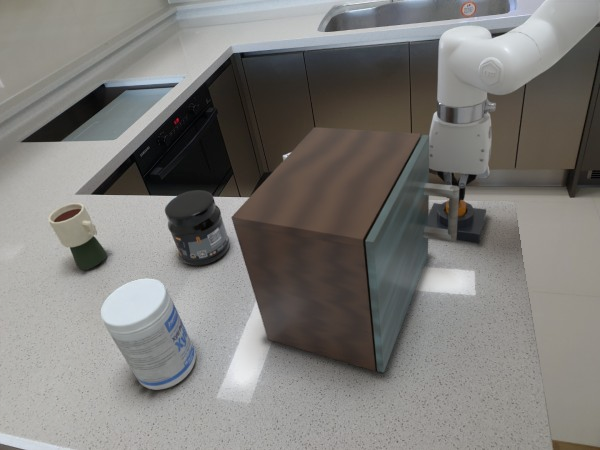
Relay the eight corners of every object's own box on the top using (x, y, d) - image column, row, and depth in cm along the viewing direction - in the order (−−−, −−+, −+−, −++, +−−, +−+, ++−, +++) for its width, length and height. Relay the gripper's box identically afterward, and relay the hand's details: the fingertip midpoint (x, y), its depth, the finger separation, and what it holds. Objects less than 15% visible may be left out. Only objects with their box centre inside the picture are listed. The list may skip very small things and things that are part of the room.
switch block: (485, 218, 90) (487, 201, 87) (478, 243, 84) (480, 226, 82) (433, 211, 94) (433, 195, 92) (423, 235, 88) (423, 218, 86)
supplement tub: (205, 371, 71) (175, 305, 62) (145, 404, 68) (105, 338, 59) (186, 332, 78) (157, 267, 69) (131, 359, 75) (94, 295, 66)
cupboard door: (457, 260, 81) (465, 137, 67) (420, 384, 63) (420, 250, 49) (422, 254, 84) (422, 134, 70) (377, 371, 66) (365, 240, 52)
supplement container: (187, 237, 100) (169, 191, 93) (234, 232, 99) (220, 185, 92) (175, 270, 92) (154, 222, 85) (226, 265, 90) (210, 216, 83)
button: (467, 207, 87) (467, 199, 86) (463, 218, 85) (464, 210, 84) (447, 204, 89) (448, 197, 88) (443, 215, 86) (444, 208, 85)
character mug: (123, 253, 99) (99, 204, 91) (102, 276, 94) (74, 225, 86) (85, 248, 103) (58, 200, 95) (62, 269, 98) (32, 220, 90)
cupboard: (421, 255, 84) (421, 133, 70) (375, 371, 66) (362, 239, 52) (331, 239, 92) (314, 127, 78) (267, 339, 74) (230, 217, 59)
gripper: (513, 101, 74) (501, 195, 85) (420, 98, 81) (420, 186, 91) (507, 121, 69) (495, 219, 80) (409, 116, 76) (410, 207, 86)
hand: (455, 201), depth 86 cm, fingers closed
